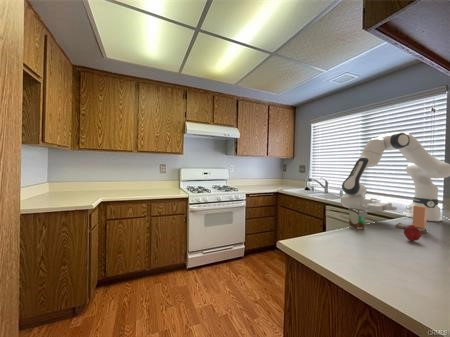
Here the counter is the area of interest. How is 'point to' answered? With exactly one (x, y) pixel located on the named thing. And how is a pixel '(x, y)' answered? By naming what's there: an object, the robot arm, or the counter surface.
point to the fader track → (403, 226)
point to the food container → (357, 218)
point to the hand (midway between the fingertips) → (396, 208)
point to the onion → (412, 233)
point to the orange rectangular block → (419, 216)
